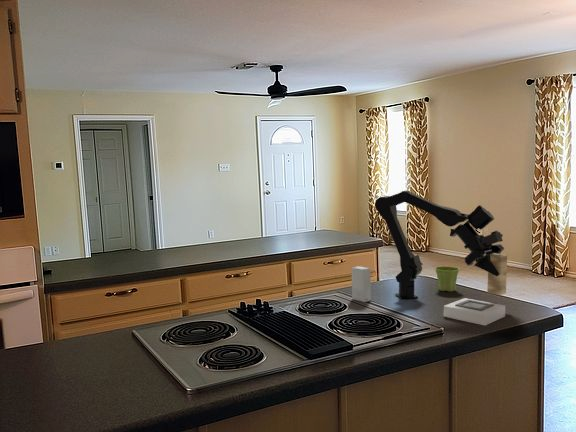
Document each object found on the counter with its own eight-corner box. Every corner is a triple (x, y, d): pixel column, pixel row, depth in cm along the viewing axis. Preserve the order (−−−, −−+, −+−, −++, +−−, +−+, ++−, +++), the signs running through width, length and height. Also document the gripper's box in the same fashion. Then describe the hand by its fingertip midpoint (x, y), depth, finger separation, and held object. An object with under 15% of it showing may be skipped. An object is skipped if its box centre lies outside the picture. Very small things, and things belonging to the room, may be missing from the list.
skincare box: (371, 300, 188) (371, 267, 187) (363, 302, 185) (363, 269, 184) (359, 297, 193) (359, 265, 192) (350, 299, 190) (350, 267, 189)
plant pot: (429, 288, 205) (429, 267, 204) (447, 286, 209) (448, 265, 208) (445, 293, 197) (446, 271, 196) (464, 291, 200) (464, 269, 200)
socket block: (443, 316, 167) (443, 304, 166) (464, 308, 176) (464, 296, 176) (485, 325, 157) (485, 313, 156) (505, 316, 166) (505, 304, 166)
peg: (487, 293, 173) (488, 254, 172) (493, 290, 176) (494, 253, 175) (500, 295, 170) (501, 256, 169) (505, 293, 173) (507, 254, 172)
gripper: (474, 225, 167) (506, 263, 160) (499, 221, 180) (530, 256, 173) (451, 247, 174) (481, 284, 167) (477, 241, 187) (506, 275, 180)
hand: (501, 274), depth 171 cm, fingers closed on peg, 4 cm apart
